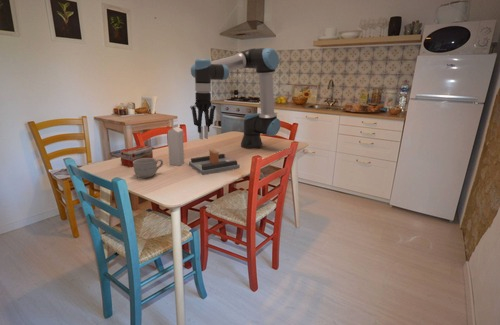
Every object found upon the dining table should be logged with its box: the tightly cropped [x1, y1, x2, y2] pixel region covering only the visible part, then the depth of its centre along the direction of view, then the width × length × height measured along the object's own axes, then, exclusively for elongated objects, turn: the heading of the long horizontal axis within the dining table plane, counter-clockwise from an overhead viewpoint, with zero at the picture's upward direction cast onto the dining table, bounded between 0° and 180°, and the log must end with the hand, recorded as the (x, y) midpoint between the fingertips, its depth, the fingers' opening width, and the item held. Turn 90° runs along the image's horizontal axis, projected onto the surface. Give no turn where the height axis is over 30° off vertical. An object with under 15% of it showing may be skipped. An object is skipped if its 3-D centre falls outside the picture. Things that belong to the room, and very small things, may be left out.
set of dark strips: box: [190, 153, 238, 170], centre depth 154 cm, size 20×16×2 cm
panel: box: [188, 156, 241, 176], centre depth 155 cm, size 22×18×2 cm
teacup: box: [133, 157, 164, 179], centre depth 138 cm, size 14×11×8 cm
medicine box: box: [120, 145, 154, 168], centre depth 156 cm, size 15×8×8 cm, turn 151°
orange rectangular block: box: [209, 148, 220, 164], centre depth 154 cm, size 3×6×7 cm, turn 34°
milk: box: [167, 123, 185, 167], centre depth 154 cm, size 6×6×22 cm
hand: (203, 138), depth 147 cm, fingers open, 2 cm apart
